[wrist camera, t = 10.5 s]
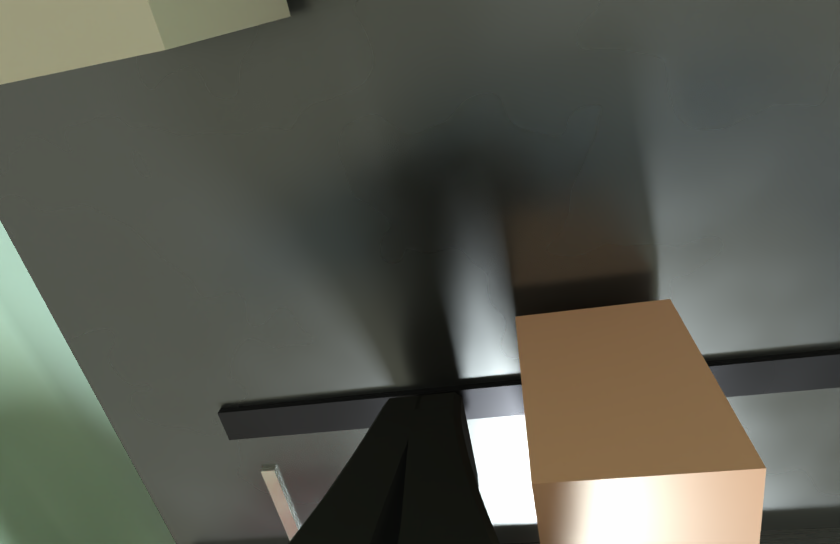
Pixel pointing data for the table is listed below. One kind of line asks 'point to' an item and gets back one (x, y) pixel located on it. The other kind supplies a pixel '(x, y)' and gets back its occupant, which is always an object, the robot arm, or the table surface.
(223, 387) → the console
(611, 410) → the terracotta fader
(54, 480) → the table surface
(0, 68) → the cream fader
